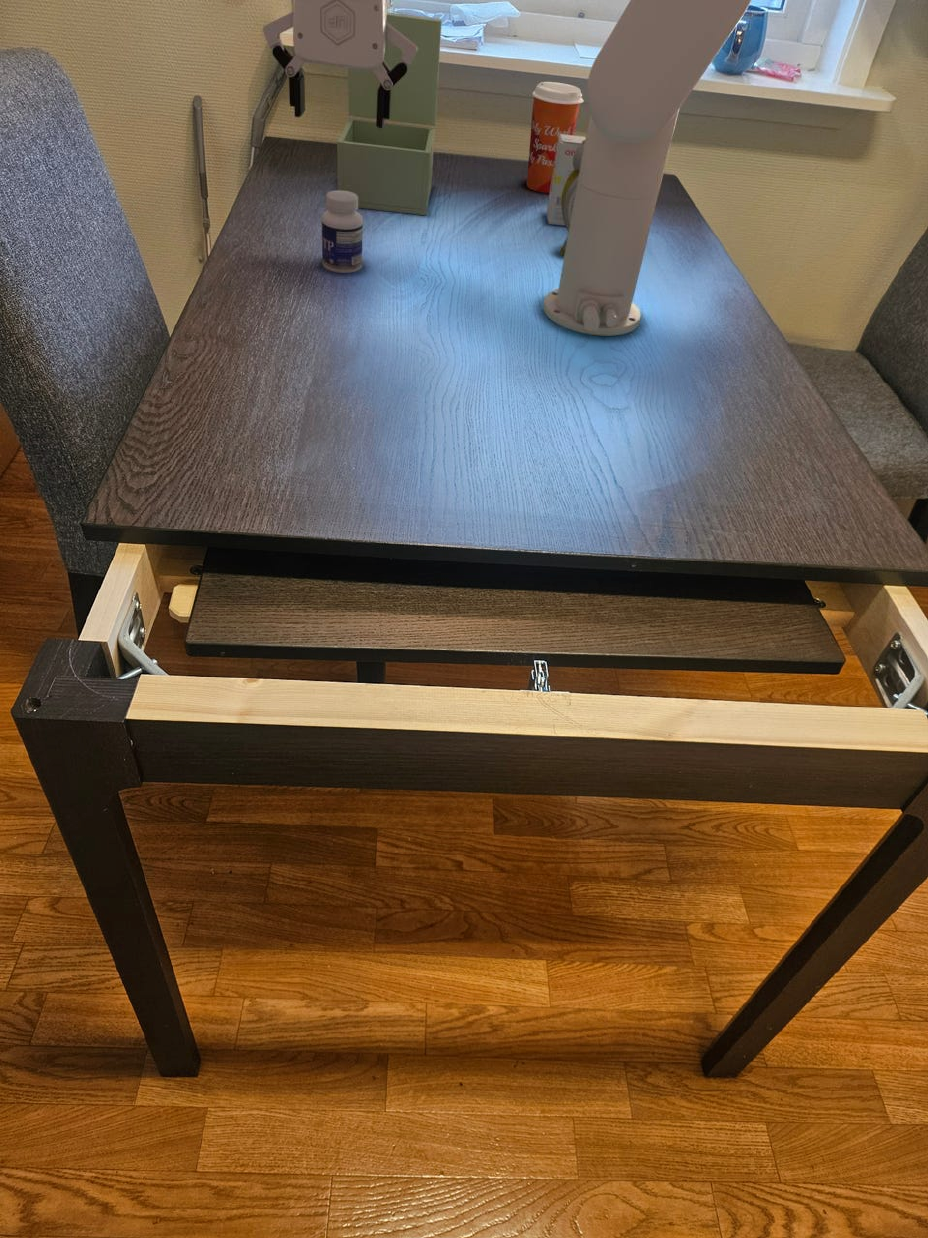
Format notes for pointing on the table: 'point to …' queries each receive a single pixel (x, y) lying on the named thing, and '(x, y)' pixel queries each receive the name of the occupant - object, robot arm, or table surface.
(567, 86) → the coffee cup
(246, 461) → the table surface
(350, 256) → the pill bottle
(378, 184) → the bin
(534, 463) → the table surface
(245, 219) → the table surface
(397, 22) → the bin lid
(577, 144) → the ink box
